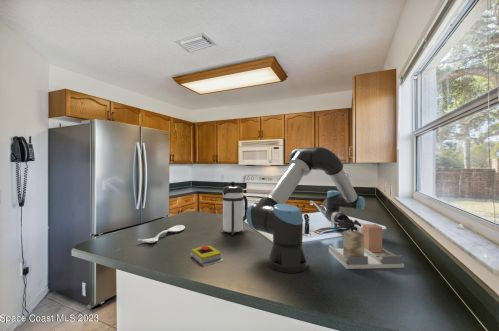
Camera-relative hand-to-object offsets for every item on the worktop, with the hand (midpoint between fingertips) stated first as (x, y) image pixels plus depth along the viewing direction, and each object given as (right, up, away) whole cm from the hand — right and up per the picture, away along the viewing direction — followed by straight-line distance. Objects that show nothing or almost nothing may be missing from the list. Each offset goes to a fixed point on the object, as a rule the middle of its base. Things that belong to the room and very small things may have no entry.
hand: (362, 231), depth 110 cm
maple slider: (-13, -6, -19) cm, 24 cm away
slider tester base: (-6, -8, -13) cm, 17 cm away
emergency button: (-73, -9, -12) cm, 75 cm away
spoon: (-102, -8, +17) cm, 104 cm away
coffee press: (-64, -8, +26) cm, 70 cm away
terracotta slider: (0, -6, -8) cm, 10 cm away
